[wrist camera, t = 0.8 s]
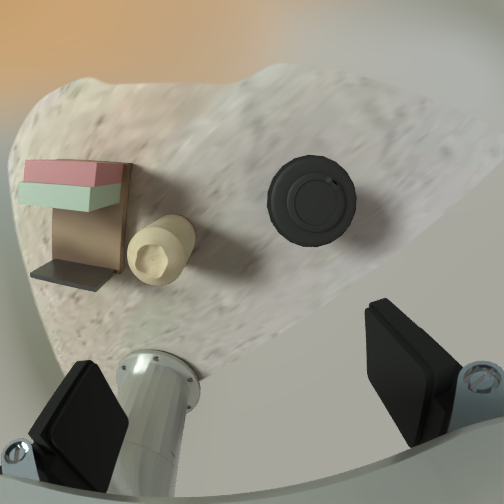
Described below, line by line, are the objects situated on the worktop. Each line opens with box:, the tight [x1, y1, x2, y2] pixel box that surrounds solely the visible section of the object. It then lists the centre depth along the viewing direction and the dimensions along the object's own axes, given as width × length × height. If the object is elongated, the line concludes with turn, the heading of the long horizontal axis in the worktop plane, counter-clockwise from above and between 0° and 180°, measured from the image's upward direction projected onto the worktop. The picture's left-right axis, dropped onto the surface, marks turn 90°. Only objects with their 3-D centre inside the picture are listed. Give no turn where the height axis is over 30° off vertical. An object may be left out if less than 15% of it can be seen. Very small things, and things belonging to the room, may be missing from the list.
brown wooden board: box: [52, 159, 132, 274], centre depth 32 cm, size 13×10×2 cm
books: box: [18, 160, 124, 212], centre depth 27 cm, size 4×9×8 cm, turn 81°
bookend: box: [30, 258, 116, 292], centre depth 30 cm, size 1×9×6 cm, turn 81°
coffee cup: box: [267, 155, 356, 247], centre depth 29 cm, size 8×8×10 cm
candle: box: [127, 214, 196, 286], centre depth 30 cm, size 6×6×10 cm
